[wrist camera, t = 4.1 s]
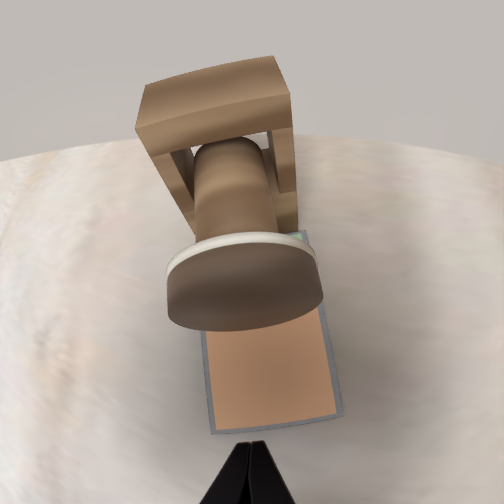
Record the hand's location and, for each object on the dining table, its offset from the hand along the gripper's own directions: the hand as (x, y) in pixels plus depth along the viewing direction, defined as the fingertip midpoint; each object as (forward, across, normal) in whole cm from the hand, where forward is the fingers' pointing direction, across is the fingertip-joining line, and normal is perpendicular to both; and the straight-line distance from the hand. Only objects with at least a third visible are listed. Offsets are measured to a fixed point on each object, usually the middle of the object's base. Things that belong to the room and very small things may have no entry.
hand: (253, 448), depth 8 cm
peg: (+11, 0, -3) cm, 11 cm away
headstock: (+18, 0, -3) cm, 18 cm away
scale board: (+12, 0, +3) cm, 12 cm away
